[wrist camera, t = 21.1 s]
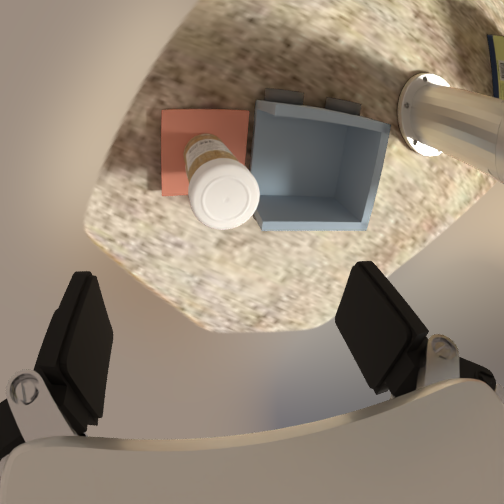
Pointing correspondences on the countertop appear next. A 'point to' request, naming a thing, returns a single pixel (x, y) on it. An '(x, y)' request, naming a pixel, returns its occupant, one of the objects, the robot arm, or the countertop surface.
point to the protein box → (497, 64)
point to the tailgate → (188, 126)
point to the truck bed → (315, 163)
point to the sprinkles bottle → (218, 184)
